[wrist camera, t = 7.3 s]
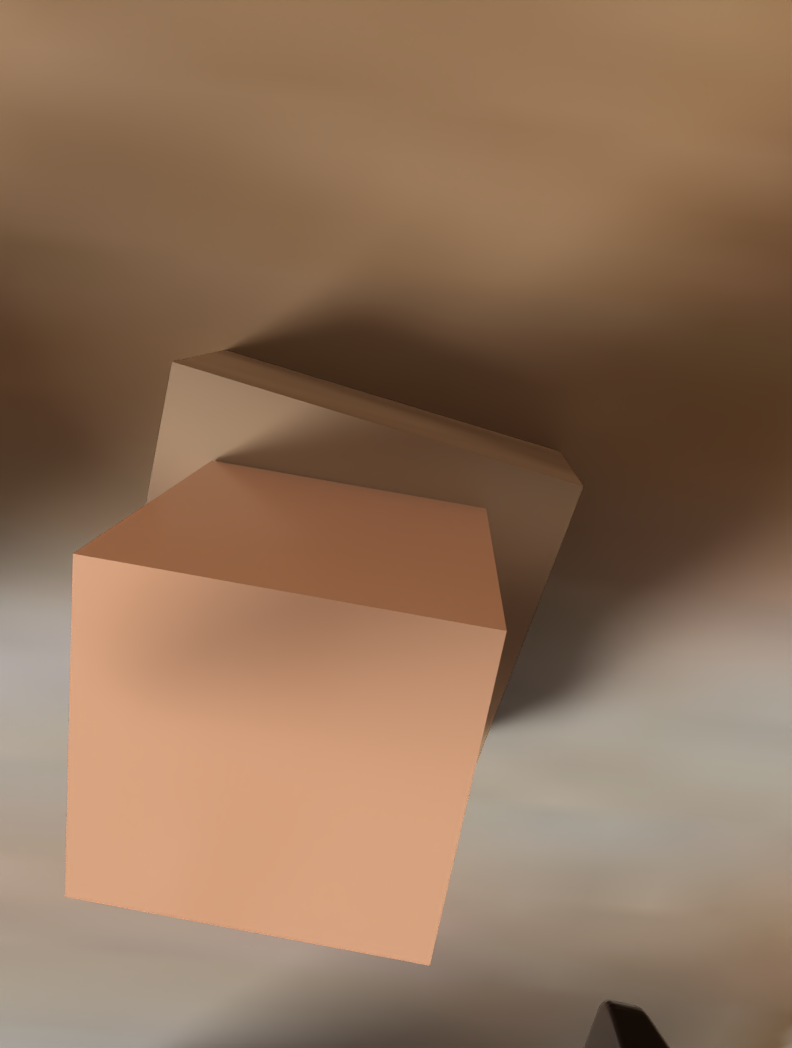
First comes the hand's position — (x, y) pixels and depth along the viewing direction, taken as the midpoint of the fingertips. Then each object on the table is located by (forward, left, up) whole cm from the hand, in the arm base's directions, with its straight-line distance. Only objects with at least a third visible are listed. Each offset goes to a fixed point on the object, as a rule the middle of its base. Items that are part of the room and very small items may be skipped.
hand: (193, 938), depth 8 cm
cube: (0, 0, -9) cm, 9 cm away
